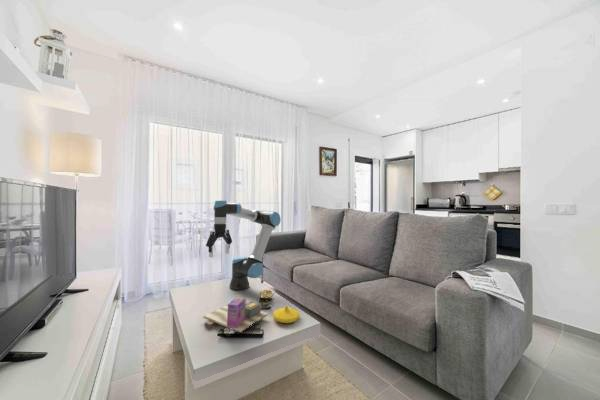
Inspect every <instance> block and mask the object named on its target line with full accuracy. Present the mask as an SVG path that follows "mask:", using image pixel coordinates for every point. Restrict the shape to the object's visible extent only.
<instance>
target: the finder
mask: <svg viewBox="0 0 600 400" xmlns="http://www.w3.org/2000/svg"><path fill="white" fill-rule="evenodd" d="M261 306H262V305H261V303H258V302H256V301H253V300H251V301H249V302H247V303H246V305H245V317H247V318H250V319H251V318H252V317H254V316H256V315H257V314H259V313H260V312H261V309H262V308H261Z"/></svg>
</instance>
